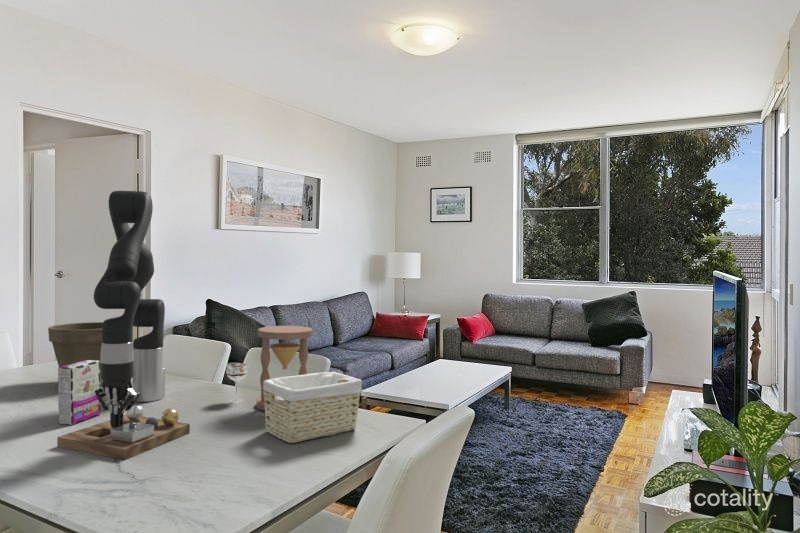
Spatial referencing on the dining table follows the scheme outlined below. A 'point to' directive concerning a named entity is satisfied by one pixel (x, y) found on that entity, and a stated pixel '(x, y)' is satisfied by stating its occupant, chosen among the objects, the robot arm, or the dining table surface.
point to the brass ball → (170, 417)
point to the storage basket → (311, 405)
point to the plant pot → (76, 342)
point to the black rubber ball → (152, 421)
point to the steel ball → (135, 413)
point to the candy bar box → (78, 391)
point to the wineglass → (236, 376)
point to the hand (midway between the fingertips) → (116, 427)
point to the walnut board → (101, 444)
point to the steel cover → (132, 432)
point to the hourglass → (282, 350)
